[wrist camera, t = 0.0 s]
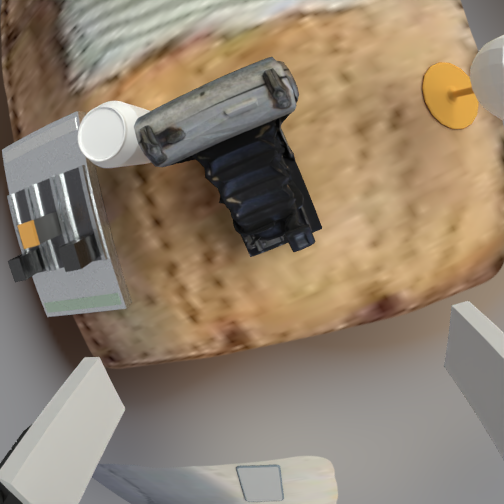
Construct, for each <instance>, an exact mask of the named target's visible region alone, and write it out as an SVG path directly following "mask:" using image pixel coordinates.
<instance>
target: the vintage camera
mask: <svg viewBox="0 0 504 504" xmlns="http://www.w3.org/2000/svg"><path fill="white" fill-rule="evenodd" d="M298 96H299V92H298V88H297V85H296V82H295V80H294V78H293V76H292V74H291V72H290V71H289V69H288V68H287V66H286V65H285V64H284V62H281V61H276V60H275V59H274V58H273V57H269V58H266V59H264V60H261V61H258V62H256V63H253V64H251V65H248V66H246V67H243V68H241V69H239V70H236V71H234V72H232V73H229V74H227V75H225V76H222V77H220V78H218V79H216V80H214V81H211V82H209V83H207V84H205V85H203V86H201V87H199V88H196V89H194V90H192V91H190V92H188V93H186V94H184V95H182V96H180V97H178V98H176V99H174V100H172V101H170V102H168V103H166V104H164V105H162V106H160V107H158V108H156V109H154V110H152V111H150V112H148V113H146V114H145V115H143V116H141V117H139V118H138V119H137V120H136V122H135V125H134V130H135V134H136V138H137V141H138V144H139V146H140V148H141V150H142V151H143V153H144V155H145V156H146V157H147V158H148V159H149V160H150V161H151V162H152V163H153V164H154V166H157V167H165V166H170V165H173V164H176V163H183V162H186V161H190V160H195V159H196V160H197V161H198V162H200V163H201V164H202V166H203V167H204V169H205V177H206V178H207V179H208V180H209V181H210V182H211V183H212V184H213V185H214V186H215V187H217V188H218V191H219V193H220V201H219V203H223V204H225V205H226V207H227V208H228V209H229V210H230V212H231V216H232V218H233V224H234V228H235V230H236V231H237V232H238V233H240V234H241V236H242V239H243V241H244V243H245V245H246V248H247V250H248V252H249V254H250V257H252V256H255V255H258V254H261V253H263V252H266V251H268V250H271V249H273V248H276V247H278V246H281V245H283V244H286V243H288V242H289V244H290V246H291V248H292V250H293V252H296V251H299V250H302V249H304V248H306V247H309V246H311V245H312V244H314V243H315V239H314V236H313V234H312V233H313V232H315V231H318V230H320V229H322V226H321V223H320V221H319V218H318V216H317V213H316V210H315V208H314V205H313V203H312V200H311V198H310V195H309V193H308V190H307V188H306V185H305V183H304V180H303V178H302V175H301V173H300V171H299V168H298V166H297V164H296V162H295V157H294V153H293V152H292V150H291V149H290V147H289V146H288V143H287V141H286V138H285V136H284V134H283V132H282V129H281V124H282V123H283V121H284V120H285V119H286V118H287V117H288V116H289V115H290V114H291V113H292V112H293V111H294V110H295V108H296V103H297V101H298Z"/></svg>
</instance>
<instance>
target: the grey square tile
mask: <svg viewBox="0 0 504 504" xmlns="http://www.w3.org/2000/svg"><path fill="white" fill-rule="evenodd" d="M236 470H237V473H238V477H239V480H240V483H241V487H242V490H243V493H244V496H245V500H246V501H248V502H263V501H282V500H283V499H284V494H283V486H282V478H281V470H280V466H279V465H265V466H264V465H260V466H255V465H254V466H237V467H236Z"/></svg>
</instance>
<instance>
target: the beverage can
mask: <svg viewBox="0 0 504 504" xmlns="http://www.w3.org/2000/svg"><path fill="white" fill-rule="evenodd" d="M148 112H150V111H149V110H146V109H143V108H140V107H136V106H133V105H130V104H127V103H124V102H120V101H109V102H106V103H103V104H101V105H99V106H98V107H96V108H94V109H92V110H91V111H89V112H88V113H87V114H86V115H85V117H84V118H83V120H82V121H81V123H80V126H79V129H78V144H79V148H80V150H81V152H82V153H83V154H84V156H85V157H87V158H88V159H89V160H90V161H91V162H92V163H94V164H95V165H97V166H99V167H102V168H115V167H123V166H131V165H140V164H147V163H152V162H151V161H150V160H149V159H148V158H147V157H146V156H145V155H144V153H143V151H142V150H141V148H140V146H139V144H138V141H137V138H136V134H135V130H134V125H135V122H136V120H137V119H138V118H139V117H141V116H143V115H145V114H146V113H148Z"/></svg>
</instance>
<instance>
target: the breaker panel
mask: <svg viewBox="0 0 504 504" xmlns="http://www.w3.org/2000/svg"><path fill="white" fill-rule="evenodd" d="M85 115H86V112H81V111H77V112H74V113H72V114H70V115H68V116H66V117H63V118H61V119H59V120H57V121H55V122H53V123H51V124H49V125H47V126H45V127H43V128H41V129H39V130H37V131H35V132H33V133H31V134H29V135H27V136H25V137H24V138H22V139H20V140H18V141H16V142H15V143H13V144H11V145H9V146H8V147H6V148H4V149H3V150H2V154H3V160H4V167H5V173H6V179H7V183H8V189H9V194H10V195H8V196H7V198H8V202H9V207H10V211H11V215H12V219H13V223H14V227H15V231H16V235H17V238H18V242H19V245H20V249H21V252H22V254H21V255H19V256H17V257H15V258H13V259H11V260H9V261H8V263H9V266H10V269H11V272H12V275H13V278H14V281H15V282H18V281H23V280H27V279H28V278H30V277H33V280H34V283H35V286H36V289H37V291H38V294H39V297H40V299H41V302H42V305H43V307H44V310H45V312H46V315H47V317H51V316H61V315H71V314H81V313H91V312H100V311H109V310H117V309H126V308H127V307H128V306H129V305H130V304H131V303H132V300H131V297H130V294H129V291H128V288H127V285H126V282H125V279H124V276H123V272H122V269H121V266H120V263H119V259H118V256H117V252H116V249H115V245H114V242H113V238H112V235H111V231H110V227H109V223H108V219H107V215H106V211H105V207H104V203H103V199H102V195H101V190H100V186H99V181H98V177H97V172H96V167H95V164H94V163H92V162H91V161H90V160H89V159H88V158H87V157H85V156H84V154H83V153H82V152H81V150H80V148H79V144H78V129H79V126H80V123H81V121H82V120H83V118H84V117H85ZM54 212H57V216H58V220H59V224H60V228H61V231H62V234H60V235H58V236H56V237H54V238H52V239H50V240H48V241H45V242H43V243H41V244H39V245H37V246H34V247H30V248H27V249H24V247H23V244H22V240H21V237H20V233H19V229H18V226H17V225H20V224H23V223H25V222H28V221H31V220H33V219H36V218H39V217H42V216H45V215H48V214H51V213H54Z"/></svg>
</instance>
